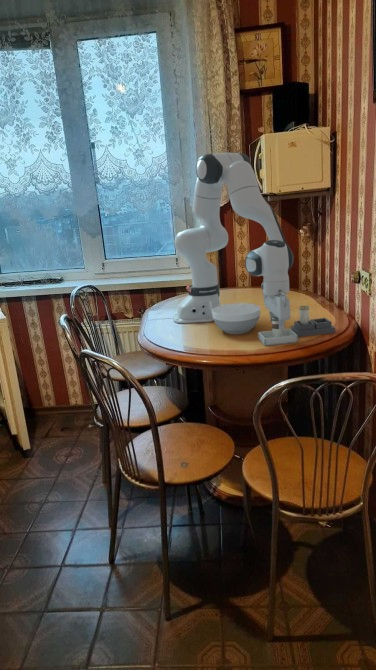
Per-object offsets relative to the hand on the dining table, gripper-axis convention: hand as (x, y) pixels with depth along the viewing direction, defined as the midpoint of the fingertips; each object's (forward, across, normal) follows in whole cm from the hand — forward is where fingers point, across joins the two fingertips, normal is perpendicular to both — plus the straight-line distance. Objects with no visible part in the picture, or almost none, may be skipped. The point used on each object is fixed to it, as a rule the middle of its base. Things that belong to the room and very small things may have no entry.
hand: (277, 325), depth 167 cm
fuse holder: (+6, +5, -15) cm, 17 cm away
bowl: (+6, +18, +11) cm, 22 cm away
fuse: (+4, +5, -12) cm, 13 cm away
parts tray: (+6, 0, 0) cm, 6 cm away
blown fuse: (+5, 0, 0) cm, 5 cm away
